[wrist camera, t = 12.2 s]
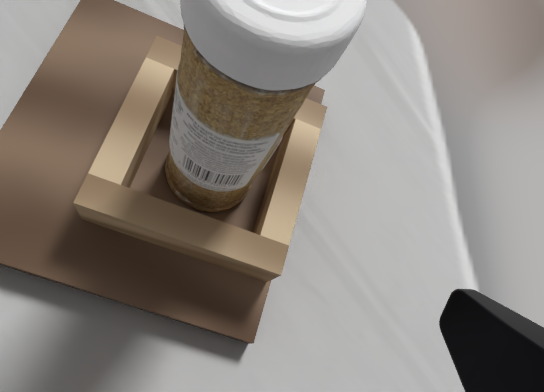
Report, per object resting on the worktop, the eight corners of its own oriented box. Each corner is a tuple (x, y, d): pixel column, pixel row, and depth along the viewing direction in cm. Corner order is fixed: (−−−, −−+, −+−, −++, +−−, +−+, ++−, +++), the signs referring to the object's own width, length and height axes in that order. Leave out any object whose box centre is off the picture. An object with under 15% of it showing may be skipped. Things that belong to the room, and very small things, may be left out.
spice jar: (267, 164, 23) (401, -33, 11) (220, 232, 22) (321, 84, 9) (196, 116, 23) (254, -140, 11) (143, 180, 21) (142, -42, 9)
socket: (248, 343, 21) (266, 343, 18) (-58, 245, 19) (-99, 225, 16) (318, 98, 27) (342, 65, 24) (89, 2, 25) (81, -49, 22)
